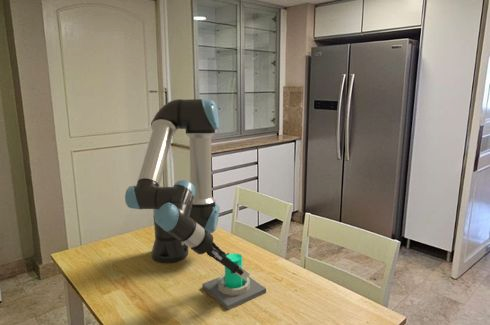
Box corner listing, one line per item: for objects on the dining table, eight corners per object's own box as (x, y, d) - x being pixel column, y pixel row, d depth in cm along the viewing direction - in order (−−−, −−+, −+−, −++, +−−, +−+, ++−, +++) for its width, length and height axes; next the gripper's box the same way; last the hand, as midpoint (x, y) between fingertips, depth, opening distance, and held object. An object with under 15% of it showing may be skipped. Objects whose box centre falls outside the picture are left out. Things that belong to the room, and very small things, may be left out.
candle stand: (202, 287, 125) (202, 278, 125) (238, 273, 135) (238, 264, 134) (227, 309, 113) (227, 300, 112) (266, 292, 122) (266, 283, 121)
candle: (245, 283, 124) (245, 251, 122) (236, 291, 119) (236, 258, 117) (231, 278, 127) (230, 247, 125) (221, 286, 122) (221, 254, 120)
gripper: (181, 237, 121) (225, 269, 131) (199, 260, 105) (248, 294, 116) (195, 219, 122) (238, 253, 133) (215, 239, 106) (262, 276, 117)
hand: (243, 272), depth 124 cm, fingers closed on candle, 5 cm apart
